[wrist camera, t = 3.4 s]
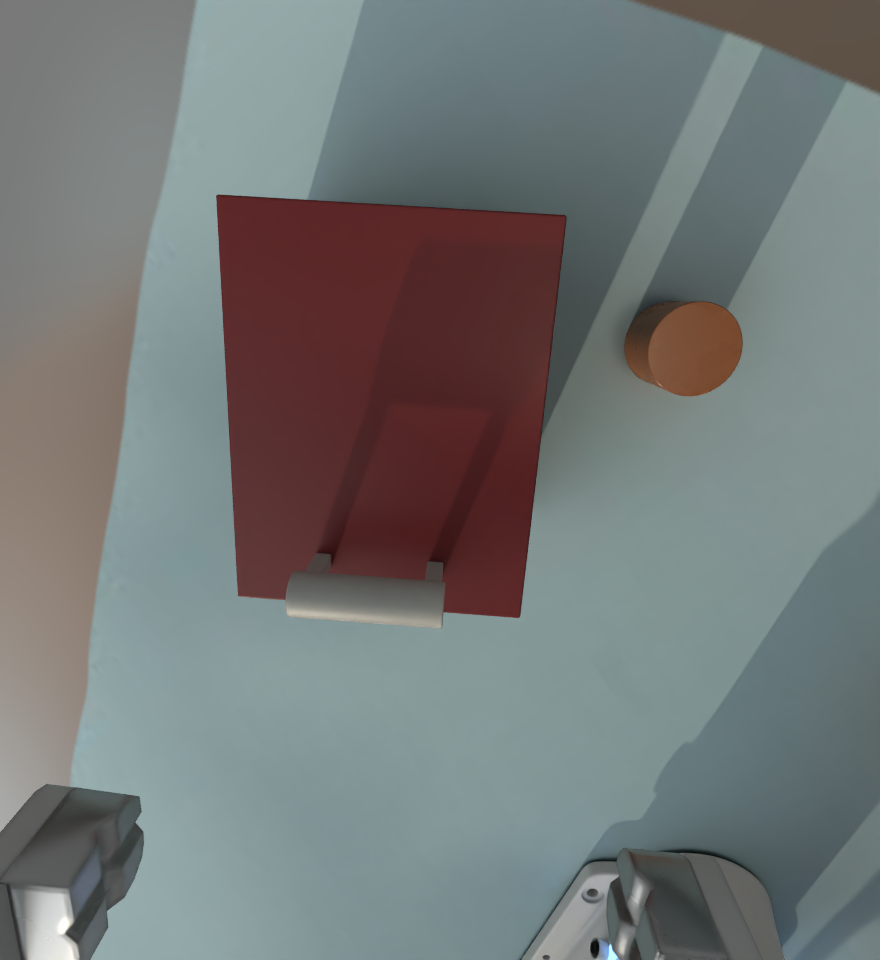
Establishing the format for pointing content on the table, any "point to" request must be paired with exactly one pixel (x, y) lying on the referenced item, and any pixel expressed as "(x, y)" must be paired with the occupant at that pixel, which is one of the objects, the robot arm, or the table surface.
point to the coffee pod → (684, 346)
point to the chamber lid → (385, 403)
